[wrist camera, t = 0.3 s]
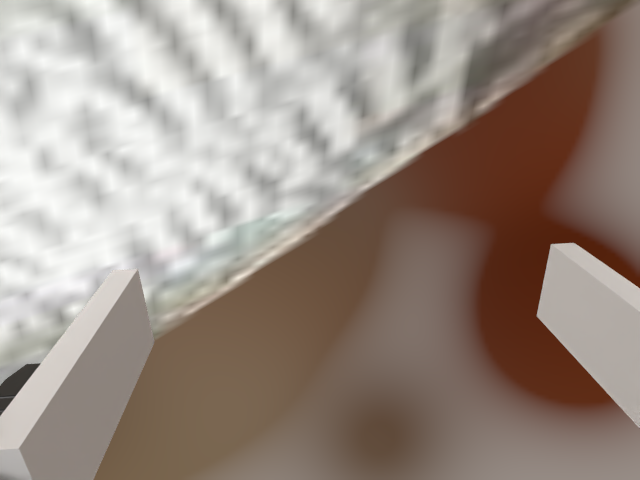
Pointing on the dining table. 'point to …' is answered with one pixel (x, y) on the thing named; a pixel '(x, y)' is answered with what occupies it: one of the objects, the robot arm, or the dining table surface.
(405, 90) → the dining table surface
